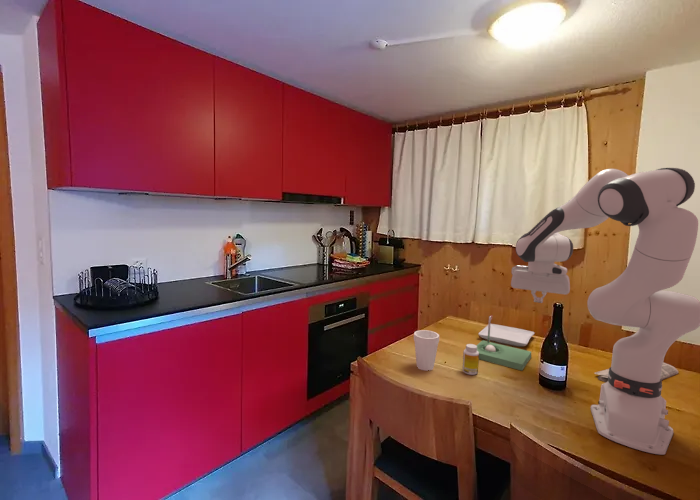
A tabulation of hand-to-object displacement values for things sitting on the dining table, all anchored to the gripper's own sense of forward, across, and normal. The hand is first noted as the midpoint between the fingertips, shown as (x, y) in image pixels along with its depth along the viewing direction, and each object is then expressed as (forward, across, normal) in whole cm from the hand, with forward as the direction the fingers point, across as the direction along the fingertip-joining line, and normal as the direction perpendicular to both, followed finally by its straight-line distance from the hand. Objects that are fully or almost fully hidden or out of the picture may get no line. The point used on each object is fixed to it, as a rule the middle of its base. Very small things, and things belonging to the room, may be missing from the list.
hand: (538, 302), depth 138 cm
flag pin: (+22, -19, +7) cm, 30 cm away
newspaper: (+26, +32, +14) cm, 44 cm away
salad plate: (+25, -16, +24) cm, 38 cm away
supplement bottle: (+26, -18, -23) cm, 39 cm away
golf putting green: (+25, -12, -1) cm, 28 cm away
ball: (+23, -16, -2) cm, 28 cm away
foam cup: (+26, -33, -30) cm, 51 cm away
